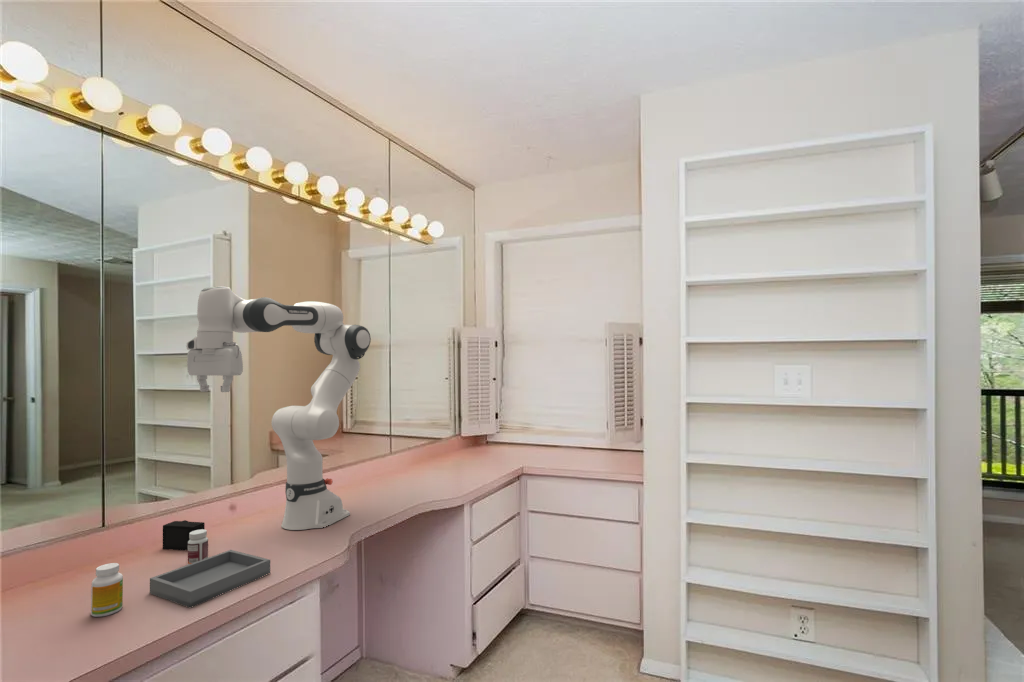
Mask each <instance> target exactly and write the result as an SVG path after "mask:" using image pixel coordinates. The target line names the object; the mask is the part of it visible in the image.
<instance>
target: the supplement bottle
mask: <svg viewBox="0 0 1024 682" xmlns="http://www.w3.org/2000/svg"><path fill="white" fill-rule="evenodd" d="M119 571H120V564H119V563H117V562H112V563H111V562H110V563H105V564H102V565H99V566H98V567H96V568H95V576H96V577H94V578H93V580H92V581H91V590H90V592H91V594H90V597H91V598H90V599H91V600H90V601H91V602H90V603H91V604H90V605H91V606H90V615H91V616H92V617H95V618H103V617H106V616H110V615H113V614H116V613H118V612H119V611H121V610H122V608H123V604H124V603H123V597H124V596H123V592H124V590H123V589H124V575H123V574H122V573H120V572H119Z"/></svg>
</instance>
